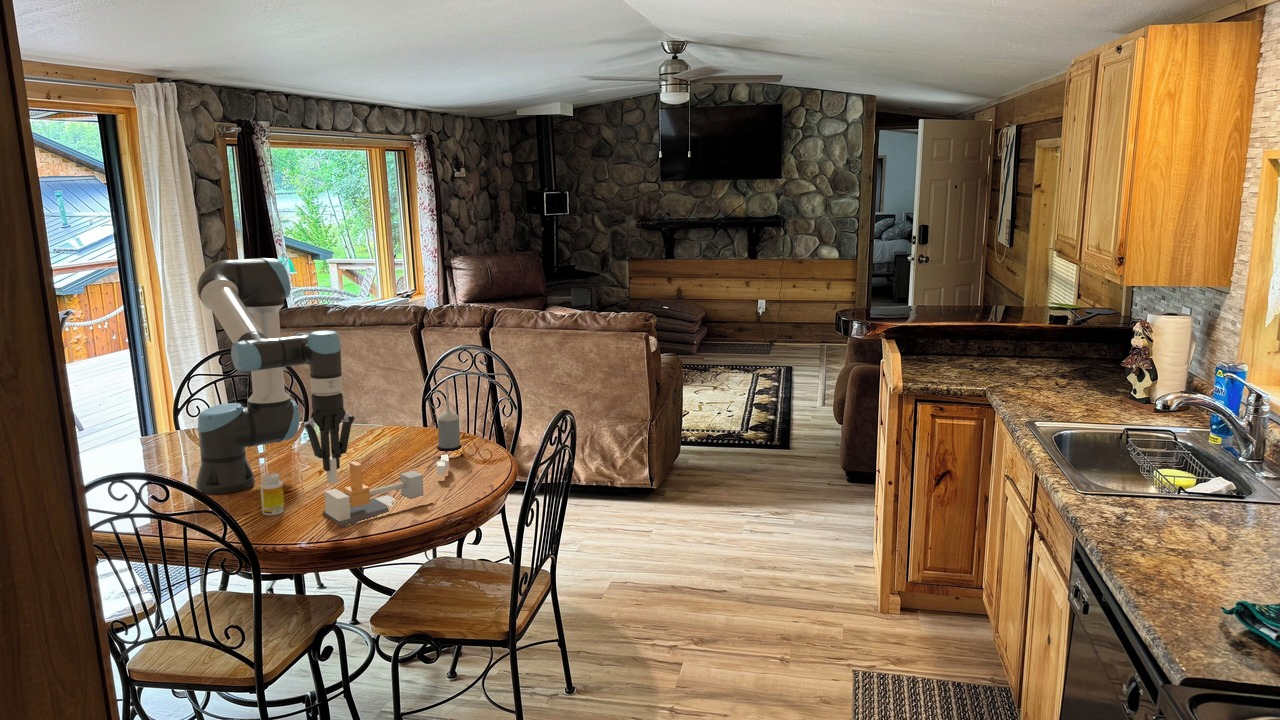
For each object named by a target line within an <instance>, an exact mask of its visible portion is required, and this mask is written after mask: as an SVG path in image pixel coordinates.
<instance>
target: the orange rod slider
mask: <svg viewBox="0 0 1280 720" xmlns="http://www.w3.org/2000/svg"><path fill="white" fill-rule="evenodd" d="M349 476H350V478H349V480H350V482H349V483H350V486H346V487H344V488H343V490H344V492H343V493H344V494H346V495H350V501H349V502H350V505H351V507H352V508H353V507H357V506H361V505H365V504H369V503H370V499H371V496H370V494H369V490H370V487H369V486H368V485H366V484H364V483H363V467H362V463H360V462H358V461H356V460H355V461H350V462H349Z"/></svg>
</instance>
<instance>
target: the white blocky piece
mask: <svg viewBox="0 0 1280 720" xmlns="http://www.w3.org/2000/svg"><path fill="white" fill-rule="evenodd" d="M447 469H449V470H450V459H449V456H448V454H444V455H441V458H440V460H439V461H436V476H437V475H445V470H447Z"/></svg>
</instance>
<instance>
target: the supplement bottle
mask: <svg viewBox="0 0 1280 720" xmlns="http://www.w3.org/2000/svg"><path fill="white" fill-rule="evenodd" d="M259 489H260V491H259V492H260V503H261V513H262V514H263V515H265V516H267V517H268V516H269V517H270V516H278V515H280V514H283V513H284V512H285V507H286V506H285V496H284V483H283V481H282V480H280V475H279V474H278V473H276V472H275V473H274V472H273V473H267V474H264V475H263V476H262V482H261V483H260V484H259Z"/></svg>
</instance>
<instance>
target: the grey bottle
mask: <svg viewBox="0 0 1280 720" xmlns="http://www.w3.org/2000/svg"><path fill="white" fill-rule="evenodd" d="M448 381H449V379H445V394H446V397H445V406H446V407H445V408H446V410H444V411H443V412H442V413H441V414H440V415H439V416H438V418H437V432H438V436H437V438H438V445H436V450H437V449H438V450H440V451H446V452H447V451H454V450H458V449H460V448H461V447H462V448H463V445H462V444H461V439H460V437H461V435H460V434H461V432H460V417H459V416H458V414H457V413H456V412H454V411H453V410H451V408H450V400H449V399H450V391H449V382H448ZM451 387H452V388H451V389H452V390H451V392H453V385H452V386H451ZM451 394H452V400H455V399H454V398H455V397H454V395H453V393H451Z"/></svg>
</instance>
